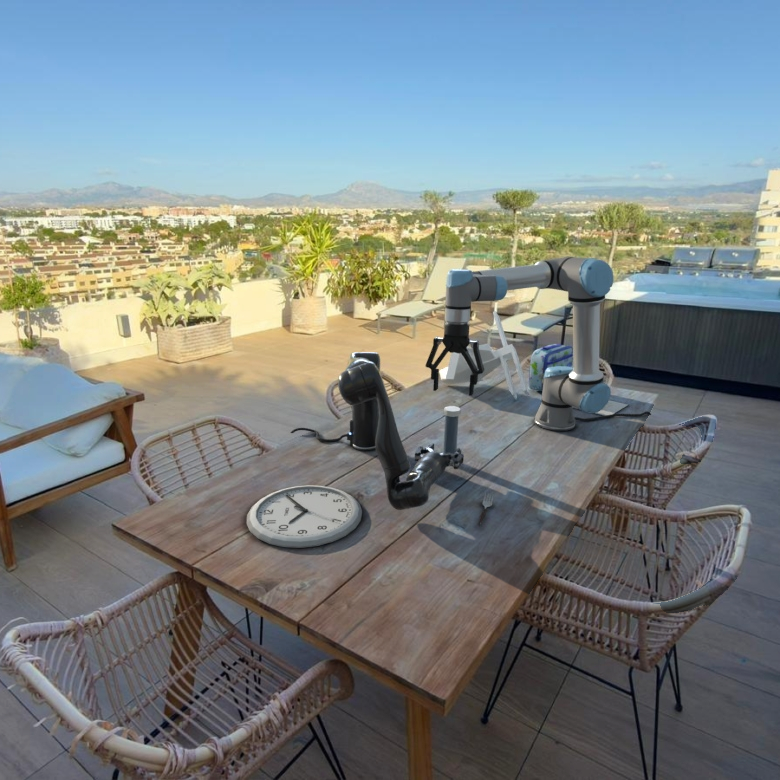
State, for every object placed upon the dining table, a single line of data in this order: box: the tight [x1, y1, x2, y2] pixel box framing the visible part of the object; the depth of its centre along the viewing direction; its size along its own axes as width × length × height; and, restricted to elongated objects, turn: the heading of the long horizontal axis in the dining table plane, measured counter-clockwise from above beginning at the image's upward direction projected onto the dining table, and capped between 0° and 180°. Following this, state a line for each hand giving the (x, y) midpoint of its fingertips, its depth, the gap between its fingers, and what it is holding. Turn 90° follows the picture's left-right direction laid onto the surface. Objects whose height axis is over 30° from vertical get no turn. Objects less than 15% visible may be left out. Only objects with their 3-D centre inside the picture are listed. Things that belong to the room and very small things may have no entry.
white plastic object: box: [439, 310, 531, 400], centre depth 245 cm, size 37×45×31 cm
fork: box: [477, 491, 494, 527], centre depth 140 cm, size 3×16×2 cm, turn 160°
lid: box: [443, 405, 461, 417], centre depth 166 cm, size 5×5×2 cm
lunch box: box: [528, 343, 573, 392], centre depth 248 cm, size 26×11×21 cm, turn 134°
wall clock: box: [246, 484, 363, 549], centre depth 137 cm, size 30×2×30 cm
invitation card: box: [573, 399, 629, 416], centre depth 226 cm, size 21×1×15 cm
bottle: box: [442, 415, 460, 458], centre depth 168 cm, size 4×4×18 cm
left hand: (445, 448), depth 165 cm, fingers open, 8 cm apart
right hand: (453, 391), depth 164 cm, fingers open, 11 cm apart
